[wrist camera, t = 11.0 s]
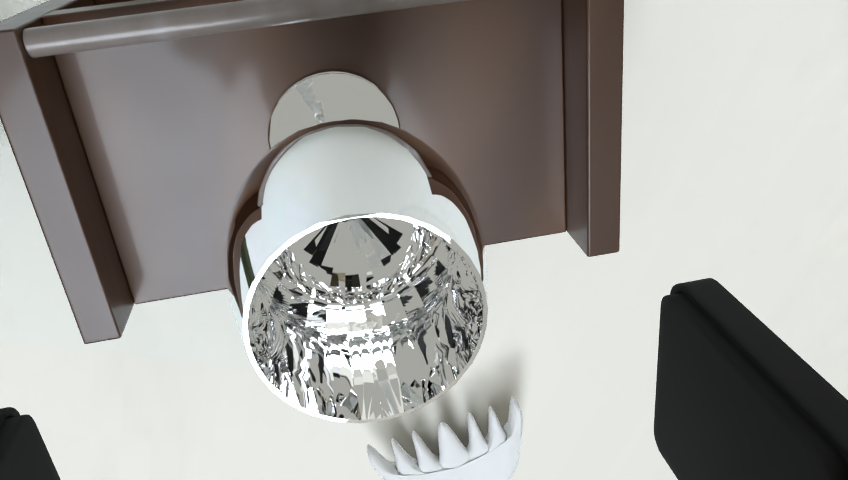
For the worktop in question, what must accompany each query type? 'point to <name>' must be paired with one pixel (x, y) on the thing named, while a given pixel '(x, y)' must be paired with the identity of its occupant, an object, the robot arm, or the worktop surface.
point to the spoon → (458, 453)
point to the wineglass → (354, 258)
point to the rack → (252, 107)
